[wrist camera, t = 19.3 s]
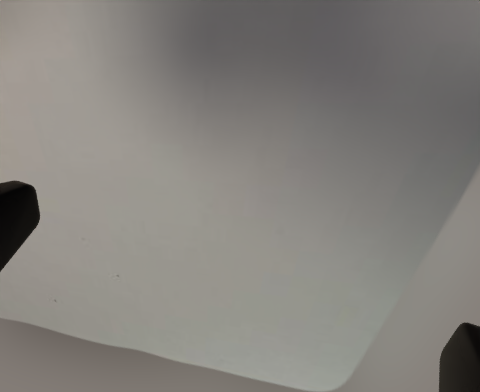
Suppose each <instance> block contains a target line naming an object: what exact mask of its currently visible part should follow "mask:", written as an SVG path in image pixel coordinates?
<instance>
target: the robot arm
mask: <svg viewBox="0 0 480 392" xmlns="http://www.w3.org/2000/svg"><path fill="white" fill-rule="evenodd" d="M39 220H40V212H39V206H38V200H37V194H36V190H35V188H34V187H33V186H32V185H29V184H26V183H23V182H20V181H9V182H5V183H0V271H1V270H2V269H3V268H4V266H5V265H6V264H7V263H8V261H9V260H10V259H11V258H12V256H13V255H14V254H15V253H16V251H17V250H18V249H19V248H20V247H21V245H22V244H23V243H24V242H25V240H26V239H27V238H28V237H29V235H30V234H31V233H32V232H33V230H34V229H35V228H36V226H37V225H38V223H39ZM439 392H480V326H476V325H473V324H470V323H462V324H460V325H459V327H458V328H457V329H456V331H455V332H454V334H453V335H452V337H451V338H450V340H449V341H448V343H447V344H446V346H445V347H444V349H443V351H442V353H441V357H440V372H439Z"/></svg>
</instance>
